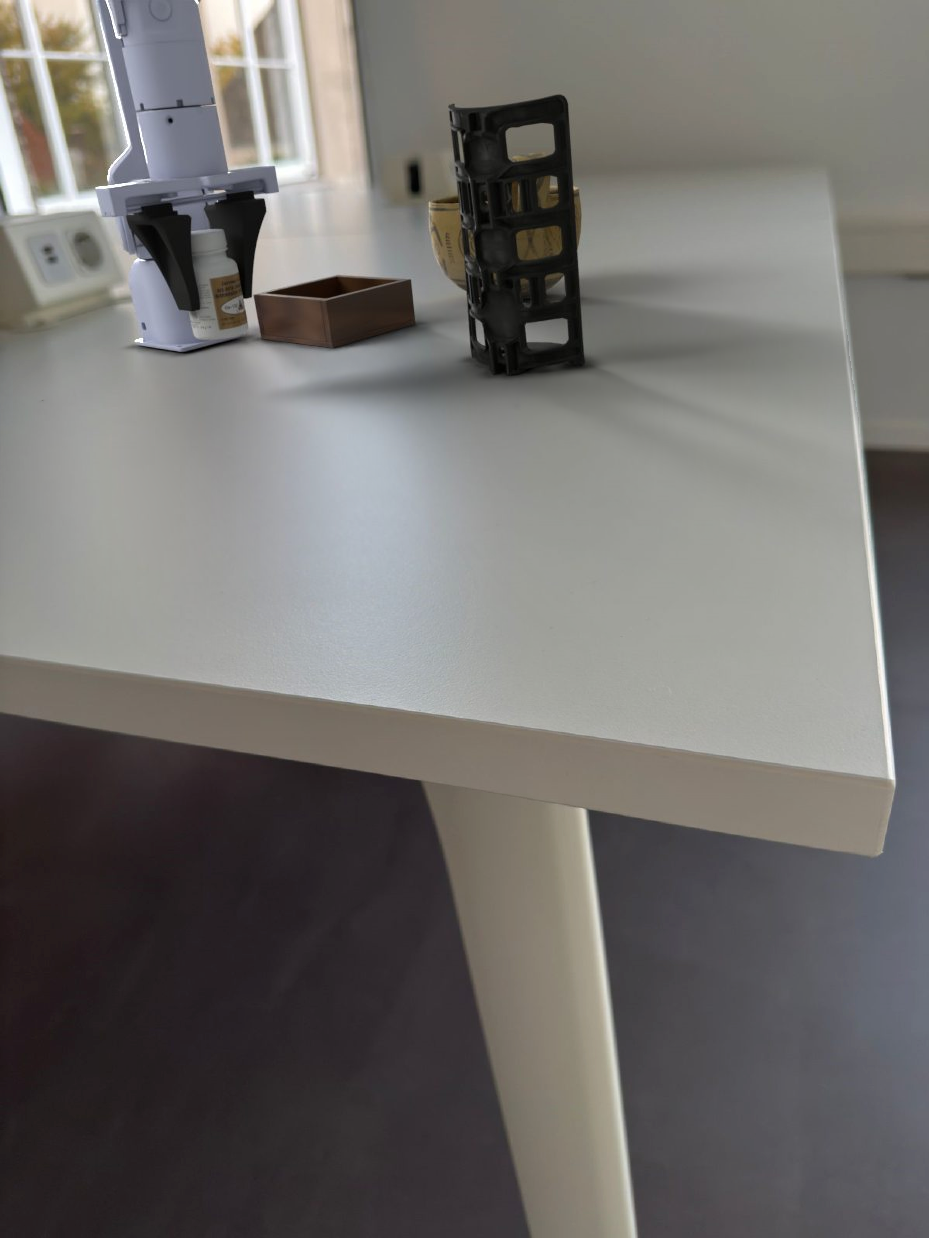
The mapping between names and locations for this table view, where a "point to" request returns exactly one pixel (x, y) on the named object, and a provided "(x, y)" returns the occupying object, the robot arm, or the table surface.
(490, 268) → the holder
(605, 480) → the table surface
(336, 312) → the box
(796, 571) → the table surface
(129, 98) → the robot arm
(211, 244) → the pill bottle
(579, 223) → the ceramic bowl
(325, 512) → the table surface
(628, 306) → the table surface
